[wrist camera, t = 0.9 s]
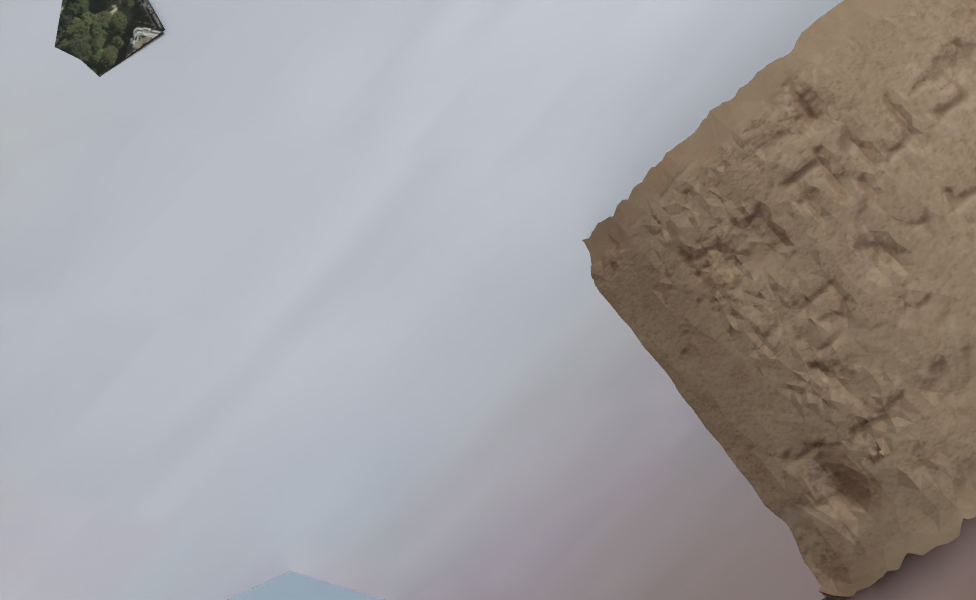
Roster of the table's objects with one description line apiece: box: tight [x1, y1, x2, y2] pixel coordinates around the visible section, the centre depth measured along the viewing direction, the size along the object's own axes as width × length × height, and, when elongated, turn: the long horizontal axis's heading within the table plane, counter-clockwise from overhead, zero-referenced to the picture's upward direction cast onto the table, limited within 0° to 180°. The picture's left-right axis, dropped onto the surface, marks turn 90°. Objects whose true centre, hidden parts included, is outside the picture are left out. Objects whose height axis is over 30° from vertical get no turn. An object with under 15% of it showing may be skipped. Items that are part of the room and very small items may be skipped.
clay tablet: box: [582, 0, 976, 597], centre depth 20 cm, size 14×10×3 cm
